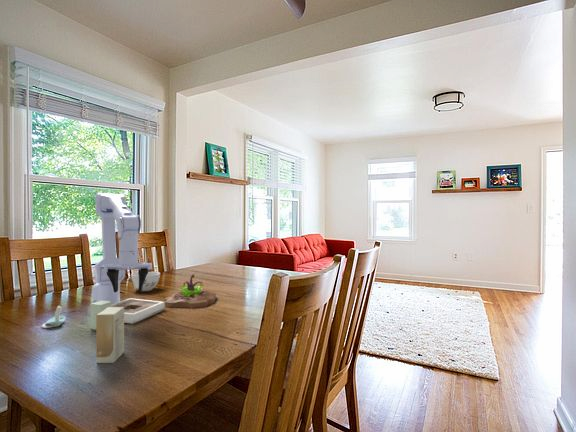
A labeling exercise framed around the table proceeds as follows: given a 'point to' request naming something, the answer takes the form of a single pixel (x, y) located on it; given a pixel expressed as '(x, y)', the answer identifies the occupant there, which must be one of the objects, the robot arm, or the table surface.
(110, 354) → the skincare box
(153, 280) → the teacup
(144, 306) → the hole plate
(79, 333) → the table surface
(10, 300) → the table surface
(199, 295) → the plant
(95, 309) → the peg
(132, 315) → the tray
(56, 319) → the pacifier
